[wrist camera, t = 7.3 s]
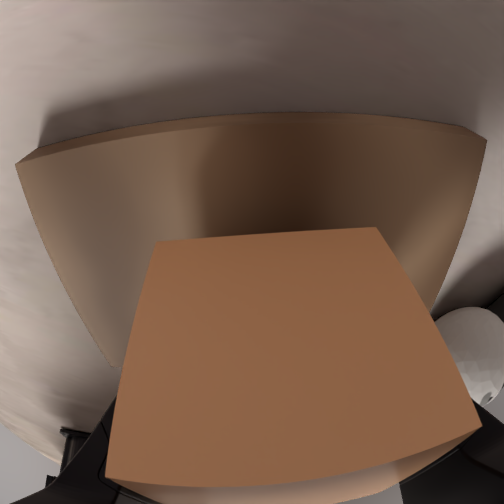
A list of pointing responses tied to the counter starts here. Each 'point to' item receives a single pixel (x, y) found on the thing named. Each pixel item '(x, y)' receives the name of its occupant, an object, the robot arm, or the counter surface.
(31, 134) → the counter surface
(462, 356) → the toy
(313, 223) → the base board
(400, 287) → the block
